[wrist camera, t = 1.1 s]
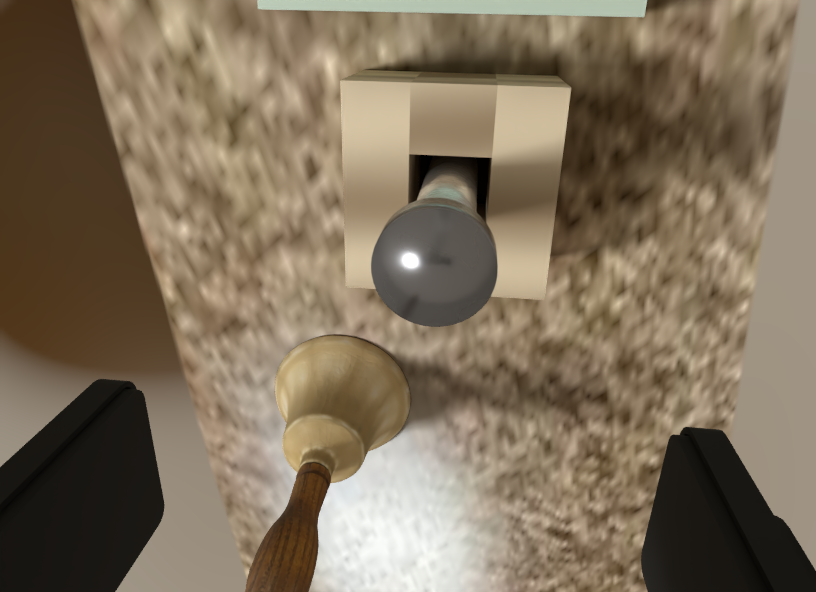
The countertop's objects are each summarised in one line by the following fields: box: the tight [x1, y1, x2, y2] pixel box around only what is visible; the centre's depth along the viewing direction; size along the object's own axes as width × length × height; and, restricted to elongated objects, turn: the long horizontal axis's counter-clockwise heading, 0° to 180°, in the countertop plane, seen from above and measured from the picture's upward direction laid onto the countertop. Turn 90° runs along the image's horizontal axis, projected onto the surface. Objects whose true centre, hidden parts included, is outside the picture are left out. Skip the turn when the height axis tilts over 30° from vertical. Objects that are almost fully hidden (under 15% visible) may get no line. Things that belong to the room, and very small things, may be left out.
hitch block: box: [340, 70, 571, 300], centre depth 28 cm, size 9×9×5 cm
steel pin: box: [371, 155, 498, 327], centre depth 24 cm, size 4×4×13 cm
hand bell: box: [245, 335, 411, 592], centre depth 29 cm, size 8×8×16 cm
